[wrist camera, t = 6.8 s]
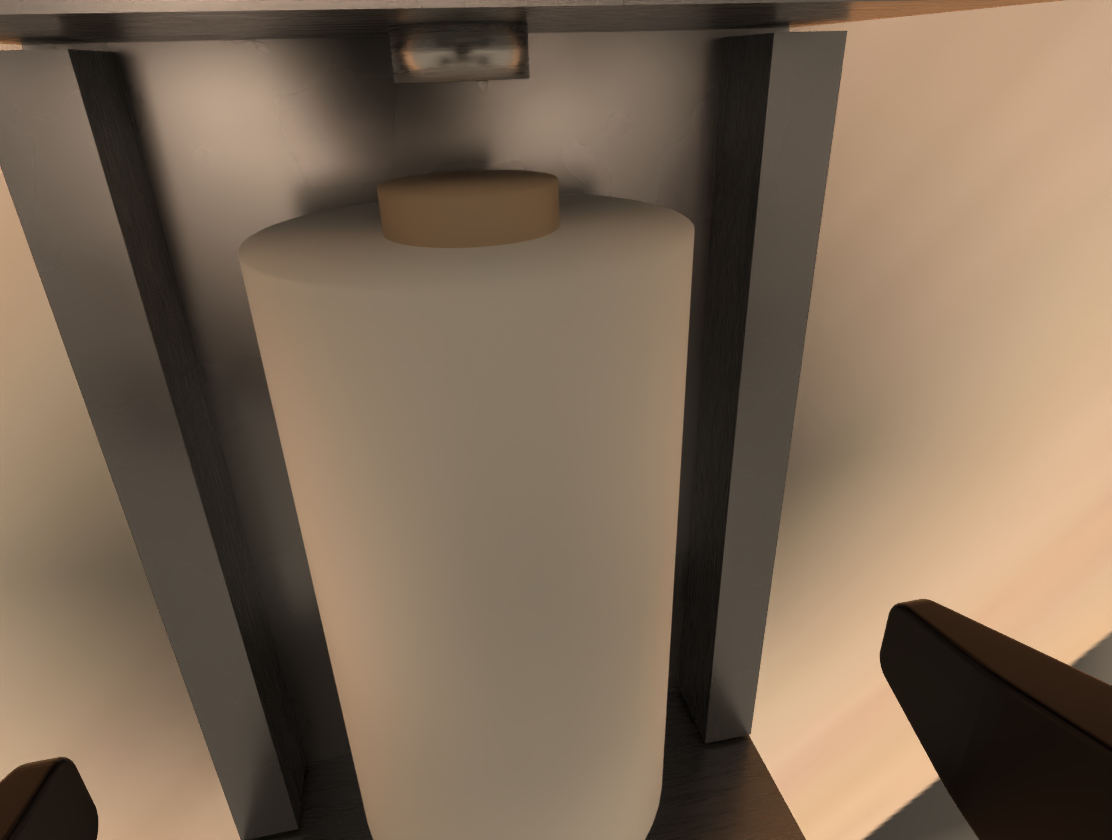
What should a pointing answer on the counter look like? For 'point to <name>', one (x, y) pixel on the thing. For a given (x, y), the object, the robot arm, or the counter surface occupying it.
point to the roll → (487, 490)
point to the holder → (352, 178)
